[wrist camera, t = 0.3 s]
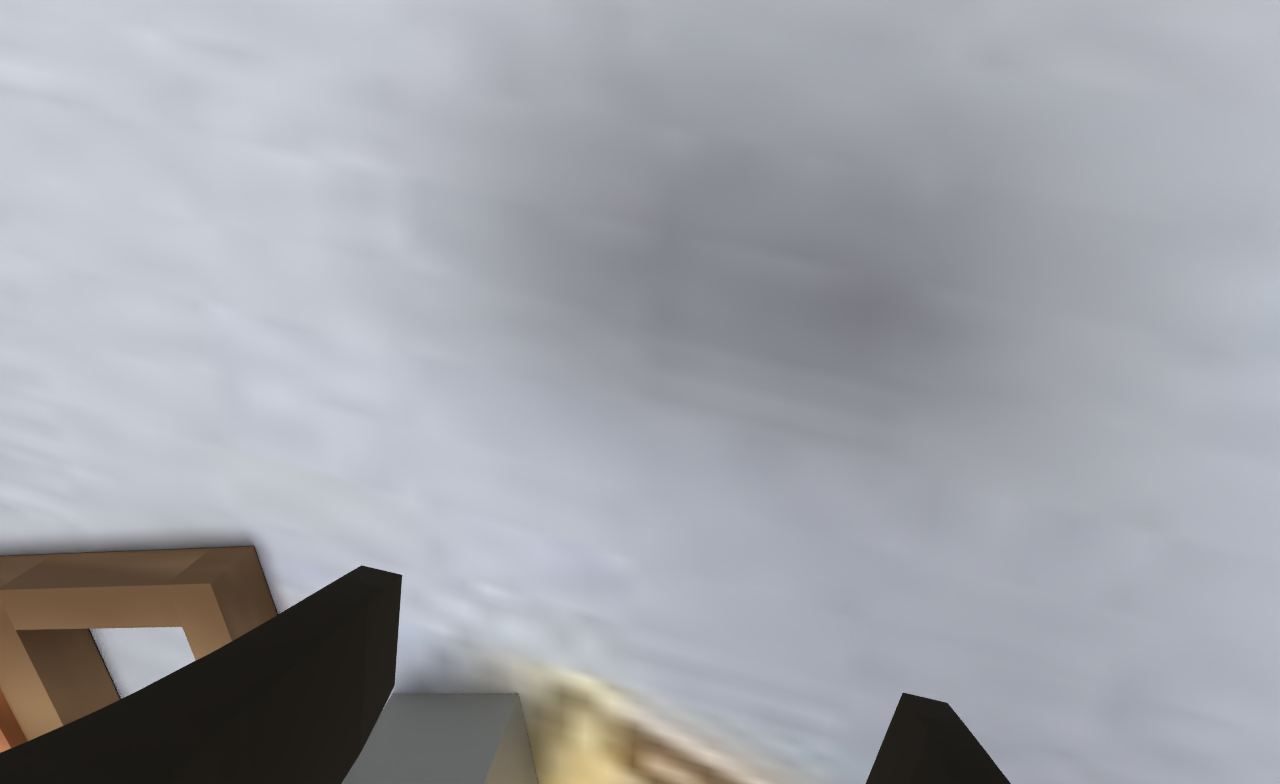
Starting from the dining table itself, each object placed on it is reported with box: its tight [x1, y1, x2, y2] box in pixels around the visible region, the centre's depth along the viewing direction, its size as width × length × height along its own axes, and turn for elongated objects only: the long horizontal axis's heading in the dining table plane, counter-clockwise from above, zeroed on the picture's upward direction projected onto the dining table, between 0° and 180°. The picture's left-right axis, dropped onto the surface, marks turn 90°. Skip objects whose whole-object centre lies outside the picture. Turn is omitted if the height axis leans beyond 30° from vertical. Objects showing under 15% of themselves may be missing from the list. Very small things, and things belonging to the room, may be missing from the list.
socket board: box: [0, 546, 277, 753], centre depth 25 cm, size 16×14×2 cm
